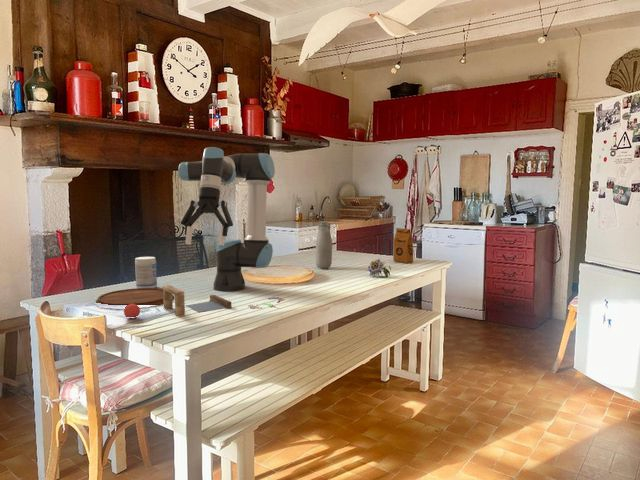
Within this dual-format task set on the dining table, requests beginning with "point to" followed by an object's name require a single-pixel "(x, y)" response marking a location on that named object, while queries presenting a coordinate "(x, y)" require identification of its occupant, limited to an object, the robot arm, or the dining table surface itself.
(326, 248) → the grey bottle
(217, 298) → the kerb
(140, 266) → the supplement tub
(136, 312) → the ball
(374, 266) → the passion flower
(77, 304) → the dining table surface
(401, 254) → the coffee package
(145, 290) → the cutting board
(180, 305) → the bridge
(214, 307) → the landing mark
